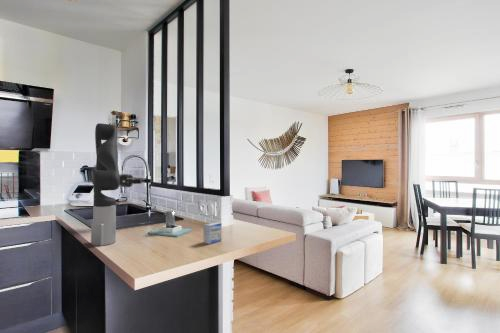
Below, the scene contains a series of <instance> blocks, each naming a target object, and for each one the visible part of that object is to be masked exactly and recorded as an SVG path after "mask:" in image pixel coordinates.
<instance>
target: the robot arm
mask: <svg viewBox="0 0 500 333" xmlns="http://www.w3.org/2000/svg"><path fill="white" fill-rule="evenodd" d="M94 139H95V154H96V160H95V161H96V162H95V163H96V165H95V171H94V172H93V176H92V180H91V183H92V185H93V188H92V189H93V202H92V203H93V214H92V215H93V216H92V218H93V219H92V220H93V222H91V224H90V226H91V227H90V228H91V230H90V245H93V246H99V247H100V246H101V247H102V246H106V245H111V244H115V243H116V241H117V239H116V235H117V233H116V232H117V231H116V230H117V229H116V228H117V222H116V221H117V212H116V211H117V200H116V198H114V197H112V196H111V197H110V196H108V195H105V194H104V193H103V192H105V191H116V190H118V189H119V188H131V187H132V186H133V185H139V184H140V185H141V184H147V183H148V184H152V179H151V178H147V177H146V178H142V177H134V176H133V174H132V175H131V174H129V173H128V174H127V173H126V174H124V173H122V174H121V173H120V172H119V163H118V162H119V152H118V151H119V150H118V128H117V126H116V125H114V124H111V123H108V124H107V123H97V124H96V125H95V131H94ZM102 141H103V143H102ZM102 191H103V192H102Z"/></svg>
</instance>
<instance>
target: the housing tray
mask: <svg viewBox="0 0 500 333" xmlns="http://www.w3.org/2000/svg"><path fill="white" fill-rule="evenodd" d="M192 231H193V229H192V228H187V227H186V228H184V227H182V225H177V224H175V228H172V229H171V228H166V224H165V225H163V226H160V227H158V228H156V229H155V228H154V229H152V230H149V231H147V234H148V235H153V236H154V235H156V236H163V237H164V236H165V237H173V238H179V237H181V236H184V235H186V234H188V233H190V232H191V233H192Z"/></svg>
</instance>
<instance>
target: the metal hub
mask: <svg viewBox="0 0 500 333" xmlns="http://www.w3.org/2000/svg"><path fill="white" fill-rule="evenodd" d="M175 216H176V215H175V211H174V210H167V211H165V225H166V228H171V229H172V228H175V225H176V223H175V222H176V221H175Z"/></svg>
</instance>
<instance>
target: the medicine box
mask: <svg viewBox="0 0 500 333" xmlns="http://www.w3.org/2000/svg"><path fill="white" fill-rule="evenodd" d="M202 231H203V235H202V236H203V237H202V238H203V239H202V240H203V243H204V244H207V245H212V244H216V243H219V242H222V223H221V222H219V221H218V222H217V221H216V222H215V221H214V222H210V223H207V224H203V230H202Z"/></svg>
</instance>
